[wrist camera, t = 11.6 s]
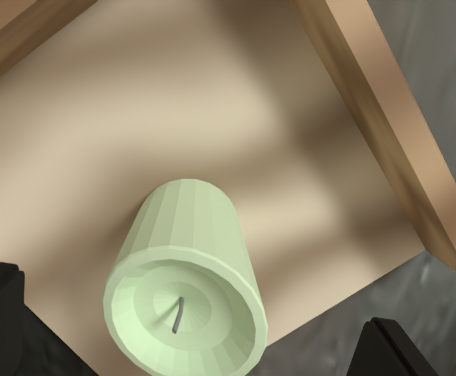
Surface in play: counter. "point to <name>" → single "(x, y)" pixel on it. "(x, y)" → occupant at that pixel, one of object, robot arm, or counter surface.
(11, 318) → the robot arm
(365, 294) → the counter surface
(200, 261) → the candle
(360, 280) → the wooden tray
